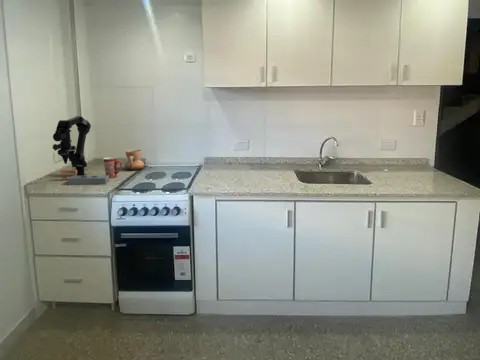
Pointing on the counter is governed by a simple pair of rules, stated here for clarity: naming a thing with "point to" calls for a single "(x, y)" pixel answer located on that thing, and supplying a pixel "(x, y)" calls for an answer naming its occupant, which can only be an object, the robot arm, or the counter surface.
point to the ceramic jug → (134, 160)
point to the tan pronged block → (67, 173)
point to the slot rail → (88, 180)
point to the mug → (111, 166)
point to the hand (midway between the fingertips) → (68, 162)
